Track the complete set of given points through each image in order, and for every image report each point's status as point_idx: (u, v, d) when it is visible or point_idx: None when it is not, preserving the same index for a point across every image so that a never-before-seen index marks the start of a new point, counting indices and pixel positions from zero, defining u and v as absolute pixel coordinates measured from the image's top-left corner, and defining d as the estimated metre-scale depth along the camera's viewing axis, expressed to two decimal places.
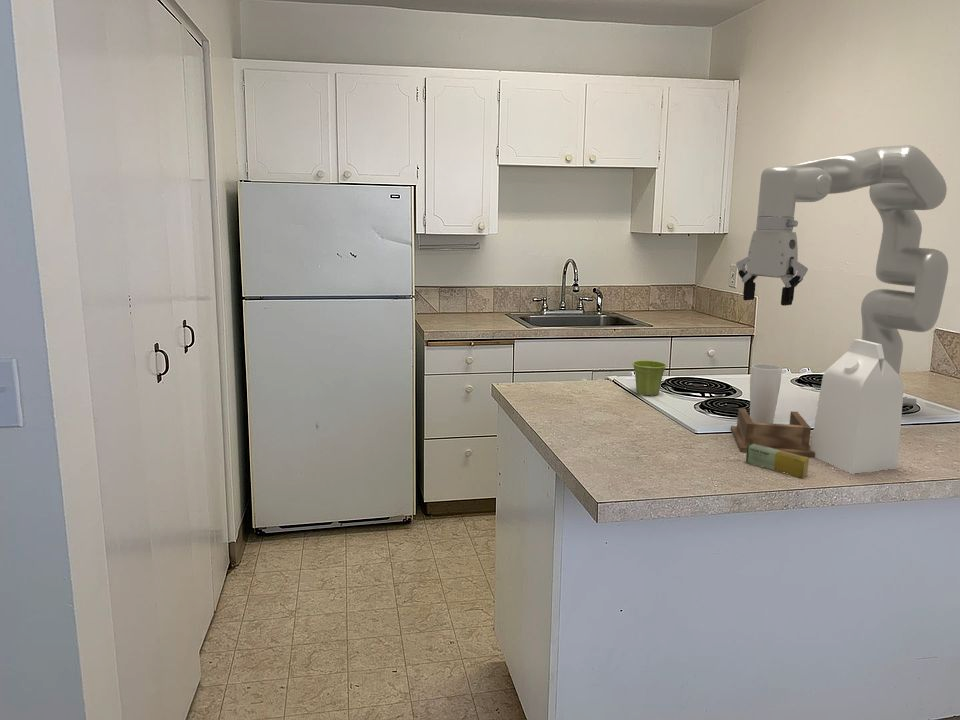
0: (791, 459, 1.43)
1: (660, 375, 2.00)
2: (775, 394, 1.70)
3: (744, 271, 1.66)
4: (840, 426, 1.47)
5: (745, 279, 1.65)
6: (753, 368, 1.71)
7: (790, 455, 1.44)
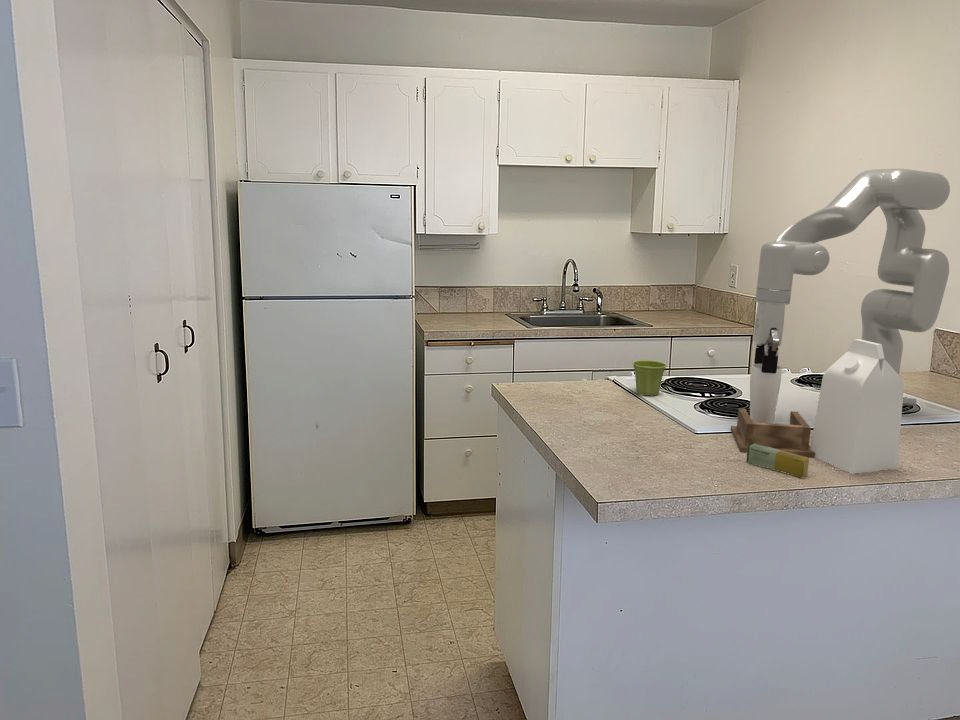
0: (792, 459, 1.43)
1: (660, 375, 2.00)
2: (775, 394, 1.70)
3: None
4: (840, 426, 1.47)
5: None
6: (753, 368, 1.71)
7: (790, 455, 1.44)
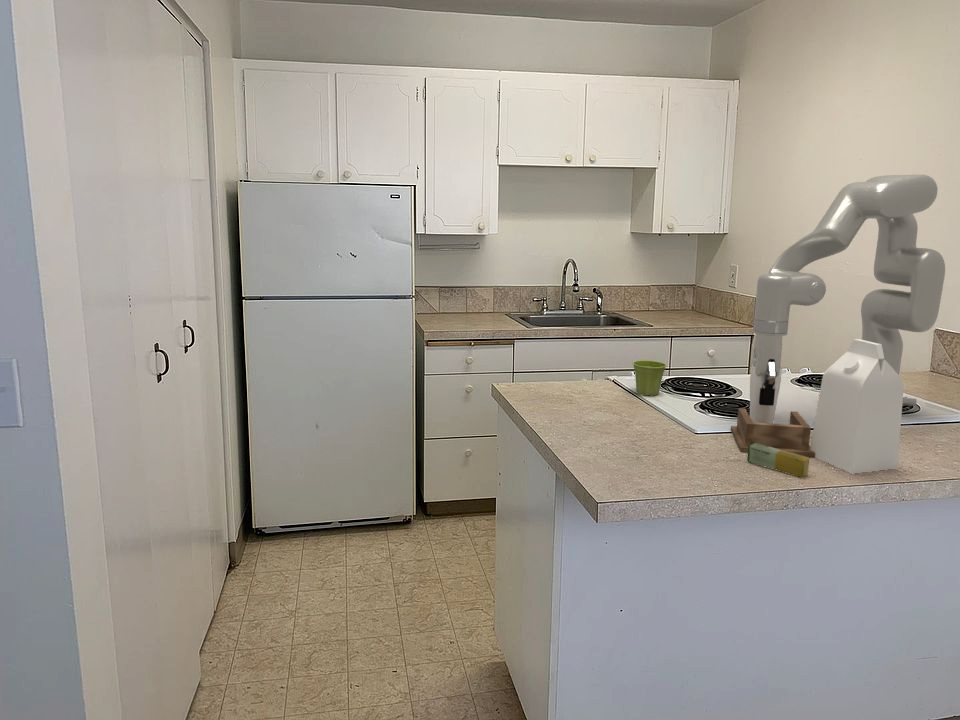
0: (792, 458, 1.43)
1: (660, 375, 2.00)
2: (775, 394, 1.70)
3: None
4: (840, 426, 1.47)
5: None
6: (753, 368, 1.71)
7: (791, 455, 1.44)
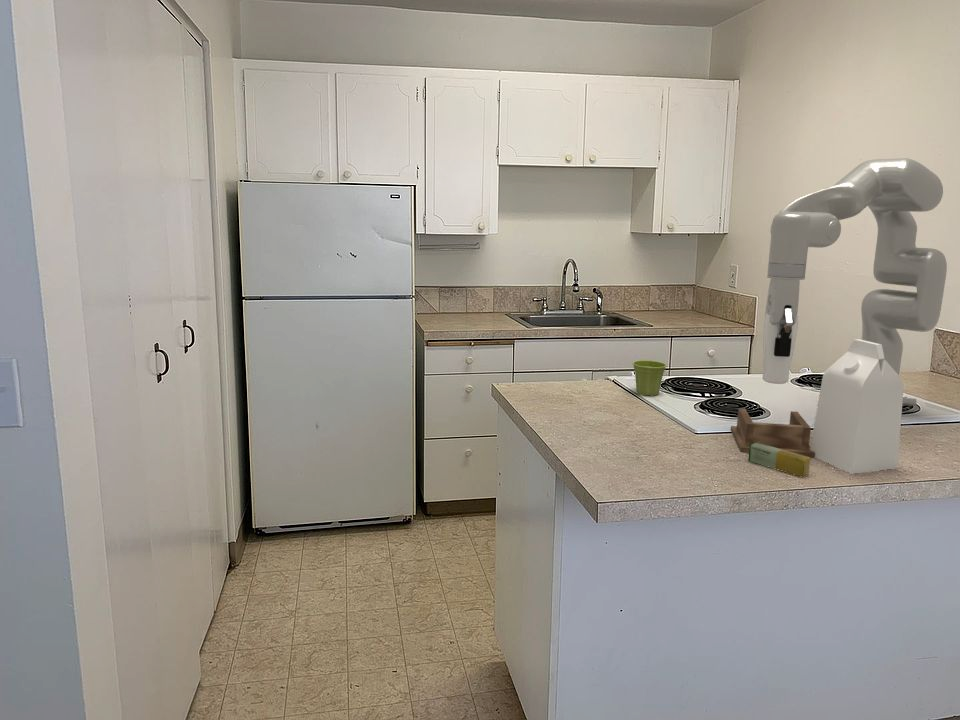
0: (792, 458, 1.43)
1: (660, 375, 2.00)
2: (791, 344, 1.56)
3: None
4: (840, 426, 1.47)
5: None
6: (767, 316, 1.57)
7: (791, 455, 1.44)
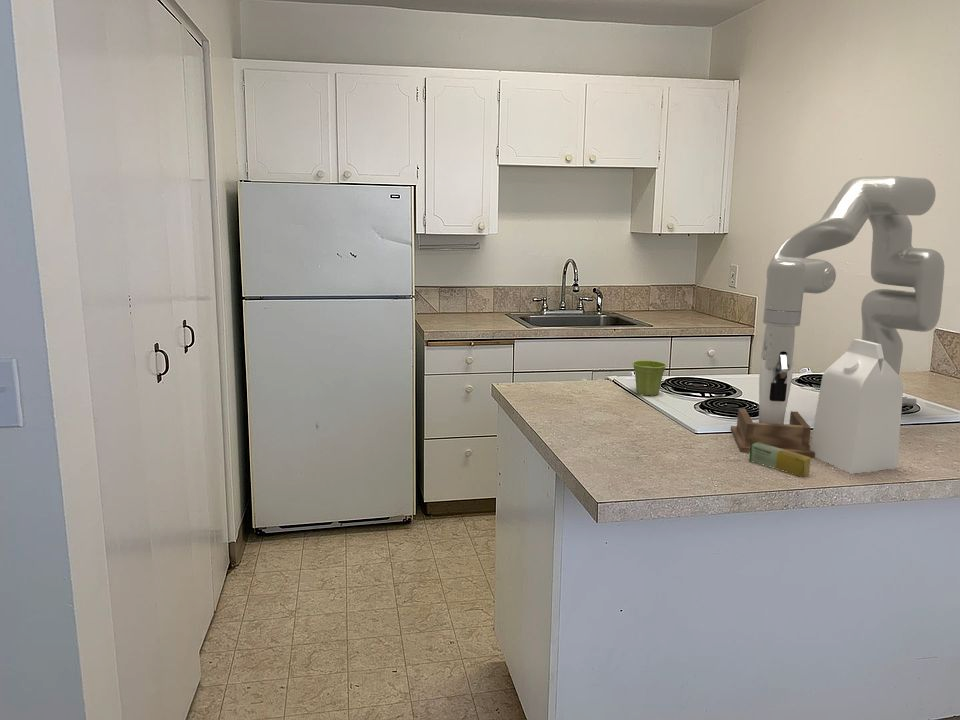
0: (793, 458, 1.43)
1: (660, 375, 2.00)
2: (786, 389, 1.58)
3: None
4: (839, 426, 1.47)
5: None
6: (763, 361, 1.59)
7: (792, 454, 1.44)
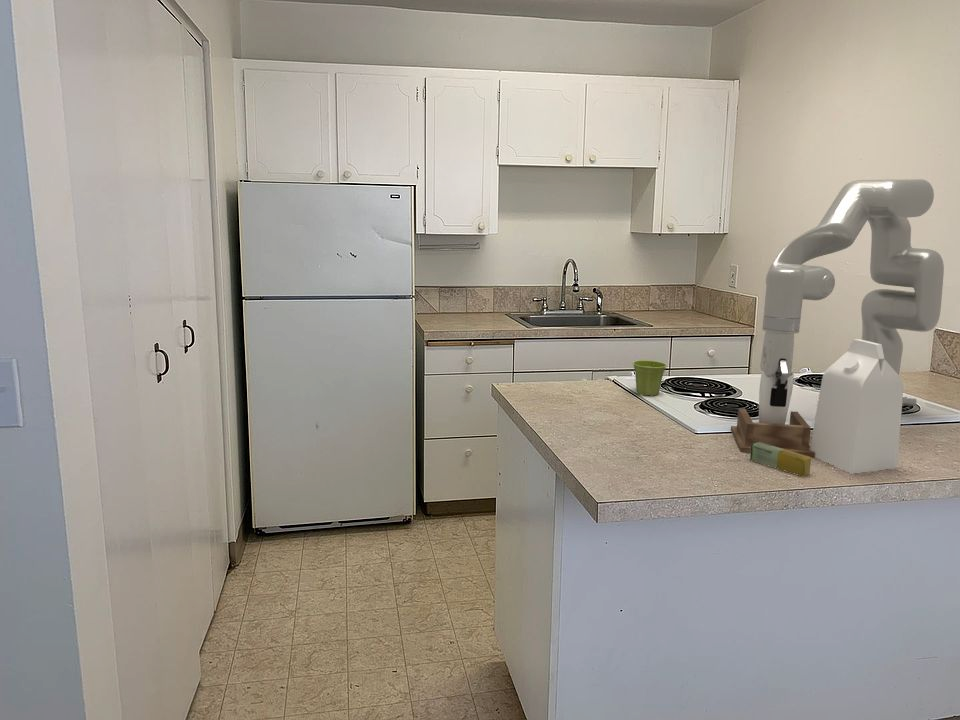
0: (793, 457, 1.43)
1: (660, 375, 2.00)
2: (786, 402, 1.59)
3: None
4: (840, 425, 1.47)
5: None
6: (763, 374, 1.60)
7: (792, 454, 1.44)
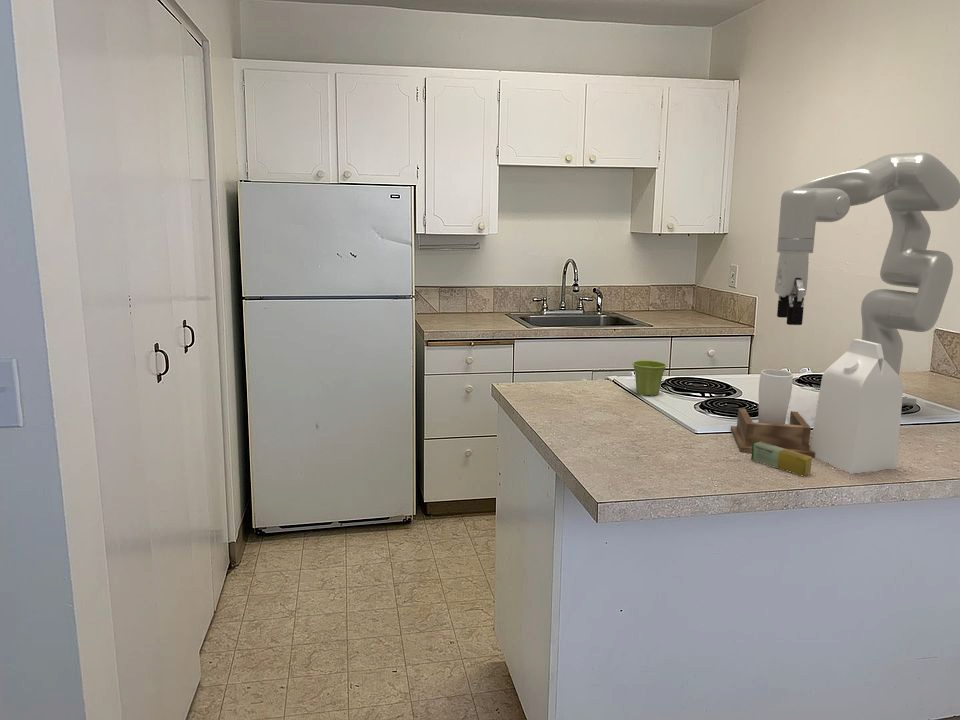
0: (794, 457, 1.44)
1: (660, 375, 2.00)
2: (785, 402, 1.59)
3: None
4: (839, 425, 1.47)
5: None
6: (762, 374, 1.60)
7: (793, 454, 1.45)
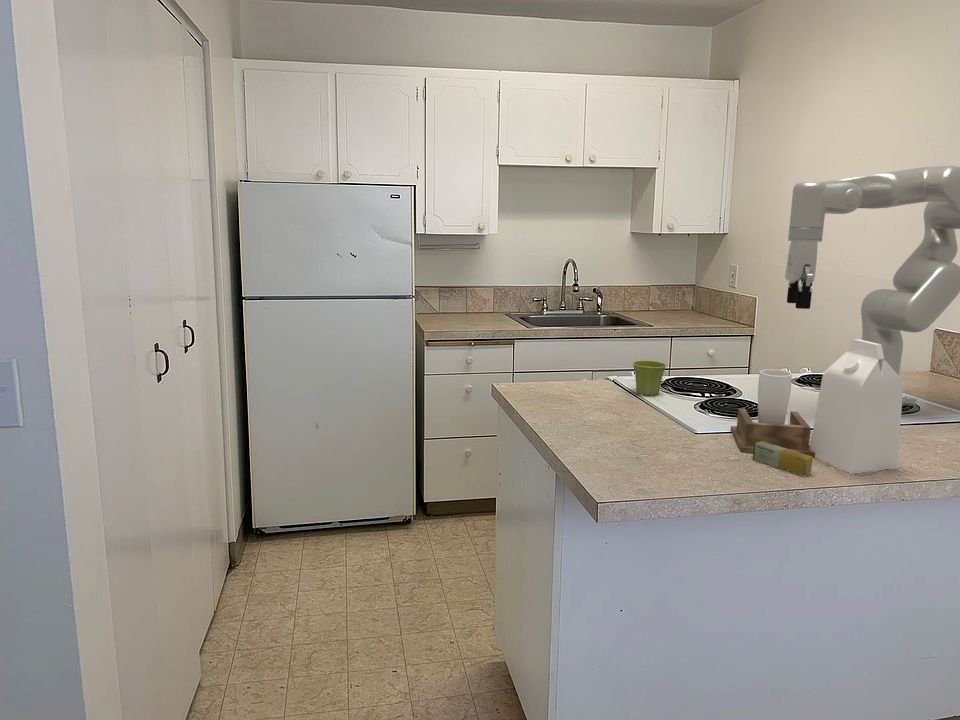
0: (794, 457, 1.44)
1: (660, 375, 2.00)
2: (785, 402, 1.59)
3: None
4: (839, 426, 1.47)
5: None
6: (761, 374, 1.60)
7: (794, 454, 1.45)
